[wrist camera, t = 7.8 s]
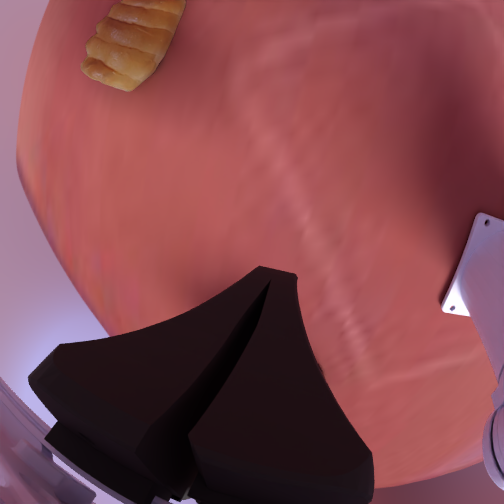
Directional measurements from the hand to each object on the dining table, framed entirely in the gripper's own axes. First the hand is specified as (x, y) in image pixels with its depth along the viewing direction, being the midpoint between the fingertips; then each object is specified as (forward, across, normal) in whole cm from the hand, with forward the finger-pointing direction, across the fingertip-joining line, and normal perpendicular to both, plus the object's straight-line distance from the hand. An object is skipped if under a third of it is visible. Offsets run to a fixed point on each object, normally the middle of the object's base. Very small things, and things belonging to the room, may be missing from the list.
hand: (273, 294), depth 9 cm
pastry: (+10, +13, -12) cm, 20 cm away
